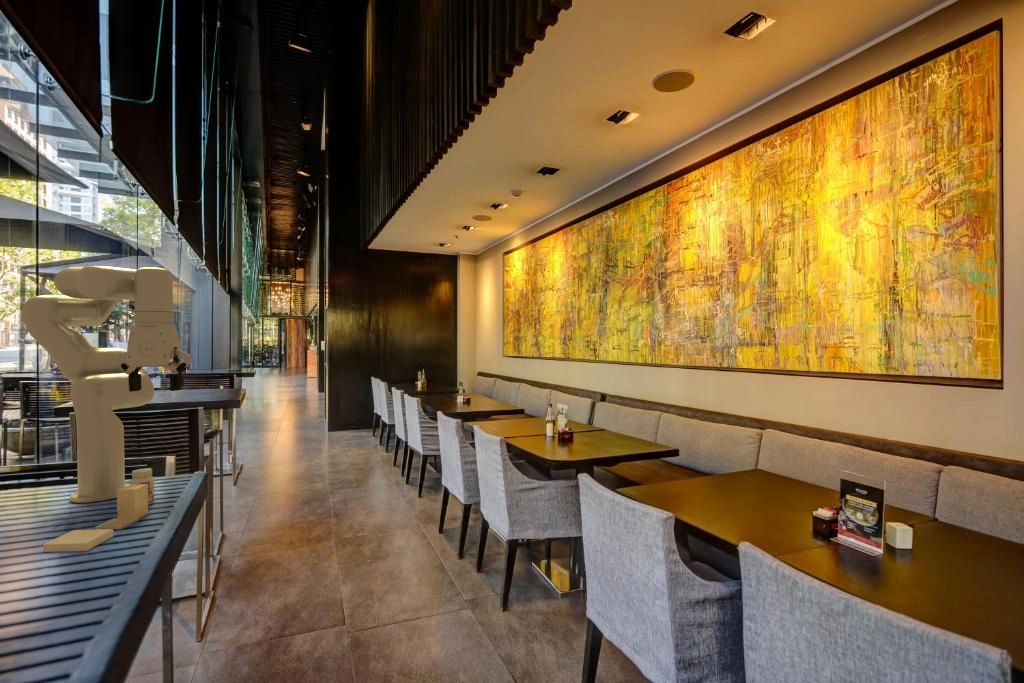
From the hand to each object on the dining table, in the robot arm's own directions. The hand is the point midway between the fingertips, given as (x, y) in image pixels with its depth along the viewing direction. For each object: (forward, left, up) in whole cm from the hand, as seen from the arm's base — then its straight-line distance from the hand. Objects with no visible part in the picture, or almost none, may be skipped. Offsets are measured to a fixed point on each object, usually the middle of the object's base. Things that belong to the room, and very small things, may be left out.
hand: (155, 390), depth 121 cm
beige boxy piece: (+6, -7, -28) cm, 30 cm away
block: (+12, -13, -28) cm, 33 cm away
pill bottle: (-6, -2, -28) cm, 29 cm away
